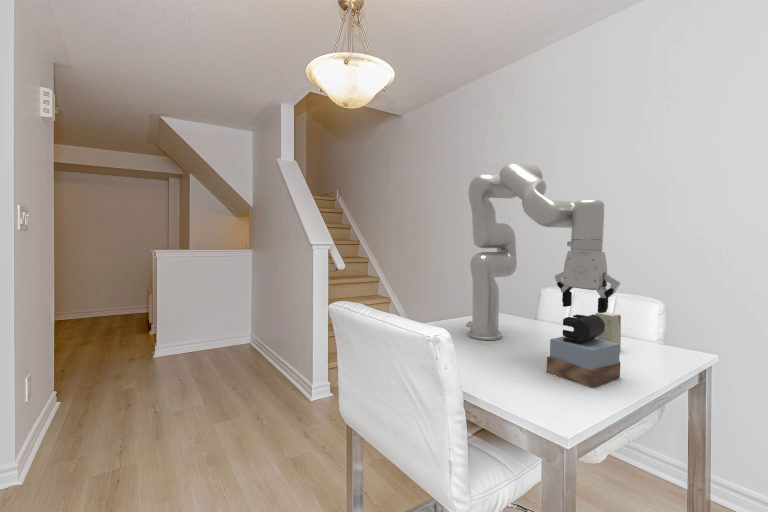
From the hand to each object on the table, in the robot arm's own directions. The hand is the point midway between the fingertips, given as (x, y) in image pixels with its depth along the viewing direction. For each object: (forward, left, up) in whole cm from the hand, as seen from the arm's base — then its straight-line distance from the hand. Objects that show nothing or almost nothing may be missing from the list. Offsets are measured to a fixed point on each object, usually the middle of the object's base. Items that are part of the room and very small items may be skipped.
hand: (583, 309), depth 105 cm
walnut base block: (+1, -1, -19) cm, 19 cm away
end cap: (0, -1, -9) cm, 9 cm away
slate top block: (+1, -1, -14) cm, 14 cm away
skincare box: (-8, +29, -18) cm, 35 cm away
